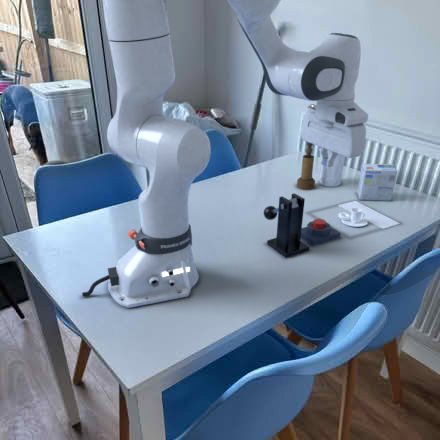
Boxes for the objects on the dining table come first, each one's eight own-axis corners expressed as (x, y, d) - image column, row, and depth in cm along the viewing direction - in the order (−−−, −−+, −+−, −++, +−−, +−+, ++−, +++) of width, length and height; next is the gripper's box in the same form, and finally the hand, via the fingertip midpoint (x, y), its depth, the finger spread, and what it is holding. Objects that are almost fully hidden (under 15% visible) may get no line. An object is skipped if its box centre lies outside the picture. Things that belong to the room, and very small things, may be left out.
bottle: (339, 187, 155) (353, 99, 138) (318, 185, 157) (329, 98, 140) (341, 180, 161) (355, 94, 144) (320, 178, 163) (331, 93, 146)
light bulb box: (387, 193, 150) (394, 163, 144) (391, 201, 144) (398, 170, 138) (356, 192, 151) (361, 162, 145) (359, 200, 145) (365, 169, 139)
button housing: (312, 246, 120) (314, 235, 118) (295, 234, 126) (296, 224, 124) (339, 237, 124) (341, 227, 122) (321, 227, 129) (323, 216, 127)
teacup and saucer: (334, 219, 134) (335, 207, 131) (353, 213, 137) (355, 202, 134) (353, 230, 127) (355, 217, 125) (373, 224, 130) (375, 212, 128)
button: (317, 230, 121) (318, 225, 120) (309, 225, 123) (310, 220, 122) (327, 227, 122) (328, 222, 121) (319, 223, 125) (320, 217, 124)
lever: (263, 222, 123) (259, 209, 123) (274, 219, 125) (270, 206, 125) (290, 212, 110) (286, 197, 110) (302, 208, 112) (298, 194, 111)
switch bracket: (266, 244, 121) (269, 195, 113) (289, 237, 124) (293, 189, 116) (285, 258, 115) (289, 207, 106) (309, 250, 118) (315, 200, 109)
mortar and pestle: (293, 184, 158) (298, 134, 148) (309, 182, 160) (314, 132, 150) (301, 190, 153) (306, 139, 143) (317, 188, 155) (324, 137, 144)
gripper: (297, 103, 111) (293, 156, 119) (353, 120, 96) (344, 179, 104) (316, 101, 113) (311, 153, 121) (373, 116, 98) (363, 174, 106)
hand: (326, 165), depth 112 cm, fingers closed
